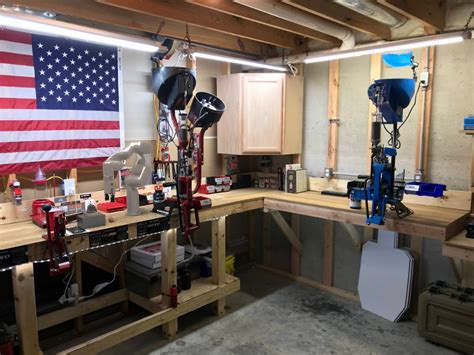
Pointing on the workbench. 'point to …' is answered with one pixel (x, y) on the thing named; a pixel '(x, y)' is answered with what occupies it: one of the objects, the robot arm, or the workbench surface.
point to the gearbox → (91, 220)
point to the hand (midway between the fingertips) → (109, 201)
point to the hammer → (74, 216)
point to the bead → (111, 219)
